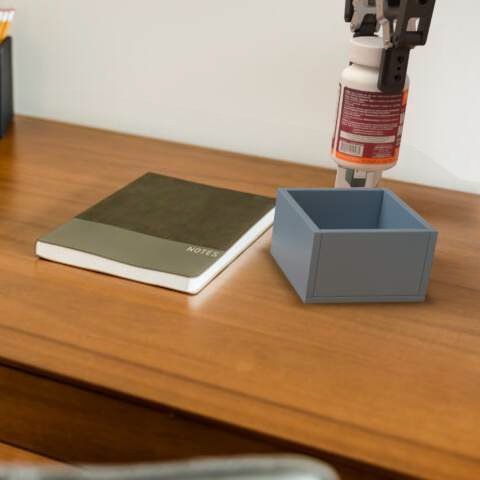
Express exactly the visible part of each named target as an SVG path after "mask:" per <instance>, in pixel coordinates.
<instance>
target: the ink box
mask: <svg viewBox="0 0 480 480" xmlns="http://www.w3.org/2000/svg"><path fill="white" fill-rule="evenodd" d="M382 176H383V171H362V170H354V169H350V168H346V167H342V166H340V165H338V164H337V169H336V176H335V181H334V188H381V182H382Z"/></svg>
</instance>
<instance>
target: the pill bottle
mask: <svg viewBox="0 0 480 480" xmlns="http://www.w3.org/2000/svg"><path fill="white" fill-rule="evenodd" d="M348 45H349V47H348V53H347V60H348V61H349V62H350V61H351V62H353V64H352V65H351V66H349V65H348V66H347V67H344V69H343V70H342V71H341V73H340V76H339V80H338V81H339V82H338V89H337V96H336V97H337V98H336V106H335V114H334V122H333V130H332V136H331V137H332V138H331V146H330V158H331V160H332V161H333V162H334V163H335V164H337V166H338V165H340V166H342V167H346V168H350V169H354V170H362V171H382V172H385V171H389V170H391V169H393V168H394V167H395V166H396V165H397V164H398V161H399V155H400V149H401V143H402V136H403V131H404V123H405V117H406V111H407V104H408V97H409V91H410V83H411V81H410V77H409V75H408V72H407V73H406V80H405V86H404V89H403V91H401V92H399V93H384V92H382V91H380V90H378V88H377V83H378V76H379V69H380V62H381V56H382V49H383V48H384V46H383V36H379V37H368V36H367V37H355V38H353V37H352V38H350V40H349V44H348Z"/></svg>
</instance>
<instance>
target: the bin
mask: <svg viewBox="0 0 480 480" xmlns="http://www.w3.org/2000/svg"><path fill="white" fill-rule="evenodd" d="M276 191H277V192H276V199H275V206H274V216H273V222H272V223H273V224H272V230H271V231H272V232H271V241H270V249H269V253H270V254H271V256H272V257H273V259H274V261H275V262H276V263H277V265H278V267H279V268H280V269H281V271H282V272H283V274H284V275H285V277H286V279H287V280H288V281H289V283H290V284H291V286H292V287H293V288H294V290H295V291H296V293H297V295H298V296H299V297H300V299H301V300H302V302H303V303H304V304H328V303H329V304H330V303H331V304H340V303H343V304H344V303H345V304H347V303H397V302H398V303H399V302H400V303H402V302H404V303H405V302H406V303H407V302H408V303H409V302H425V300H426V295H427V291H428V287H429V281H430V276H431V271H432V266H433V261H434V258H435V257H434V256H435V251H436V246H437V242H438V241H437V240H438V235H439V230H438V229H436V228H435V227H434V226H433V225H432V224H431V223H429V222H428V221H427V220H426V219H425V218H424V217H422V216H421V215H420V214H419V213H418V212H417V211H416V210H414V209H413V208H412V207H411V206H409V205H408V203H406V202H405V201H404V200H403V199H402V198H401V197H399V196H398V195H397V194H396V193H395V192H394V191H392V190H391V189H390V188H389V187H380V188H335V187H277V190H276Z"/></svg>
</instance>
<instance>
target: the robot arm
mask: <svg viewBox="0 0 480 480" xmlns="http://www.w3.org/2000/svg"><path fill="white" fill-rule="evenodd" d="M436 1H437V0H344V14H343V20H344V22H345V23H350V25H349V29H350V32H351V33H353V34H352V38H355V37H367V36H368V37H380V35H379V34H378V33H379V31H380V30H381V28H382V37H383V46H384V48H383V49H382V56H381V62H380V69H379V76H378V83H377V88H378V90H380V91H382V92H384V93H399V92H401V91H403V89H404V86H405V80H406V73H407V74H408V67H409V60H410V54H411V51H412V50H414V49H415V48H416V47H424V46H425V45H426V44H427V41H428V37H429V33H430V27H431V24H432V19H433V15H434V11H435V10H434V9H435V6H436ZM417 21H418V22H417ZM416 22H417V23H418V24H417V27H416ZM352 64H353V62H351V61H349V63H348V66H351V65H352Z"/></svg>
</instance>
